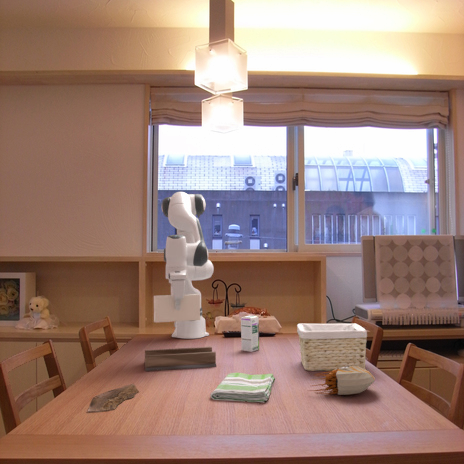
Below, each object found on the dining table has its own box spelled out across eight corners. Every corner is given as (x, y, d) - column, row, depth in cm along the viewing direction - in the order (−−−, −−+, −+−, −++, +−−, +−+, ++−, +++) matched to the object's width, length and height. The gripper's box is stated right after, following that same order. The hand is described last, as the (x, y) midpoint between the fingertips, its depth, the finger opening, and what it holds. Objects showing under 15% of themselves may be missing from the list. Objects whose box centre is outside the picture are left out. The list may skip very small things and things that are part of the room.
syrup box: (252, 352, 183) (251, 317, 184) (240, 350, 187) (240, 316, 187) (259, 349, 188) (259, 316, 188) (248, 347, 191) (248, 314, 192)
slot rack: (144, 362, 167) (144, 349, 167) (211, 358, 172) (211, 346, 173) (145, 371, 155) (145, 357, 156) (216, 366, 161) (216, 353, 161)
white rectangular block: (154, 320, 174) (153, 295, 175) (198, 318, 178) (197, 294, 179) (154, 322, 169) (154, 296, 170) (200, 320, 173) (199, 295, 174)
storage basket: (301, 372, 153) (300, 330, 154) (296, 360, 169) (296, 322, 170) (369, 372, 152) (368, 330, 153) (358, 360, 168) (357, 322, 169)
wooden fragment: (106, 416, 114) (106, 412, 114) (71, 412, 117) (71, 408, 117) (151, 386, 139) (151, 383, 139) (121, 384, 142) (121, 380, 142)
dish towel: (208, 401, 126) (208, 388, 126) (226, 378, 148) (226, 367, 148) (267, 405, 122) (267, 392, 122) (276, 381, 145) (275, 370, 145)
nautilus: (312, 403, 123) (301, 389, 138) (385, 396, 124) (366, 383, 139) (310, 375, 124) (298, 364, 138) (382, 368, 125) (363, 358, 140)
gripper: (167, 273, 184) (167, 306, 183) (170, 275, 164) (170, 312, 163) (182, 273, 185) (182, 305, 185) (186, 275, 165) (187, 311, 165)
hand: (177, 308), depth 174 cm, fingers closed on white rectangular block, 5 cm apart
